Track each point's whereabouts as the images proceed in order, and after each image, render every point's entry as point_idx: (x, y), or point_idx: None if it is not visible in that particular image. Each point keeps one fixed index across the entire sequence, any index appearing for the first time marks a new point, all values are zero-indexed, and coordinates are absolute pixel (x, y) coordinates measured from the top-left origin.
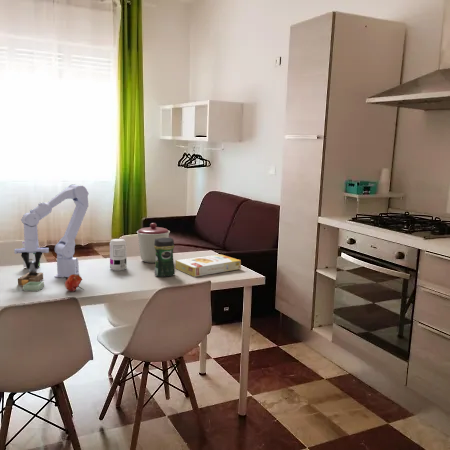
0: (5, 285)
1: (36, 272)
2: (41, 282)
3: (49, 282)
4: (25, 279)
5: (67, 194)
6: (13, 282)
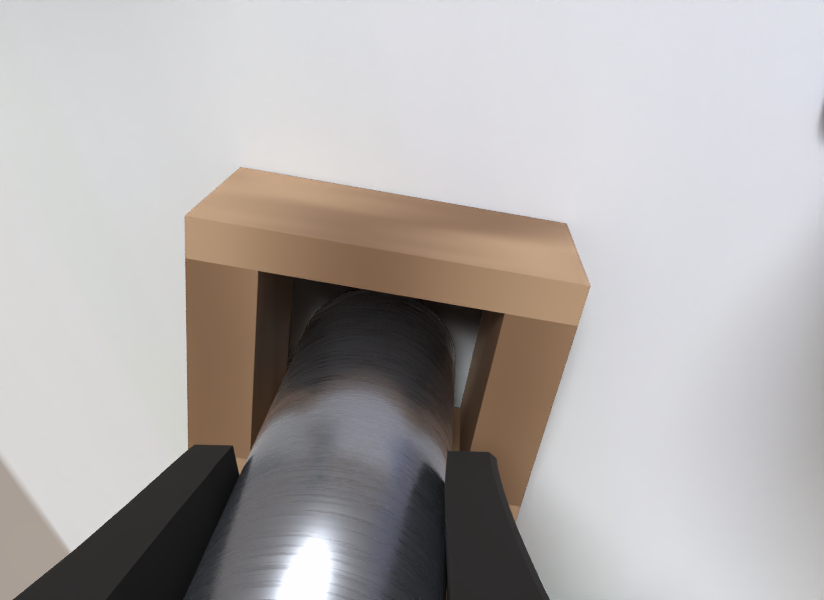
0: (50, 506)
1: (452, 431)
2: None
3: (702, 451)
4: None
5: None
6: (79, 376)
